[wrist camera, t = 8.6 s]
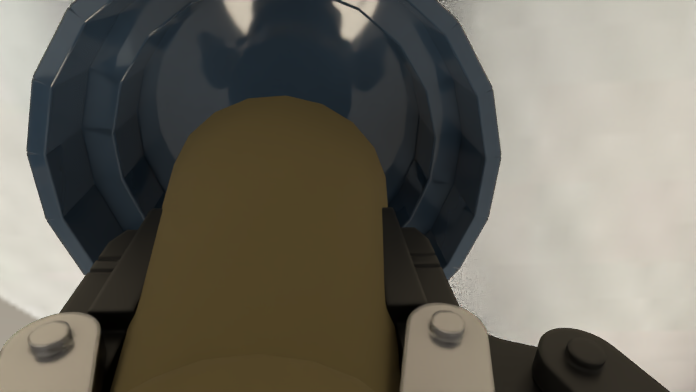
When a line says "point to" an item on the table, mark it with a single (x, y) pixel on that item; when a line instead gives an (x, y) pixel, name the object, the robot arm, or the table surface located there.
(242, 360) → the cork
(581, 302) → the table surface
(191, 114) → the bowl
